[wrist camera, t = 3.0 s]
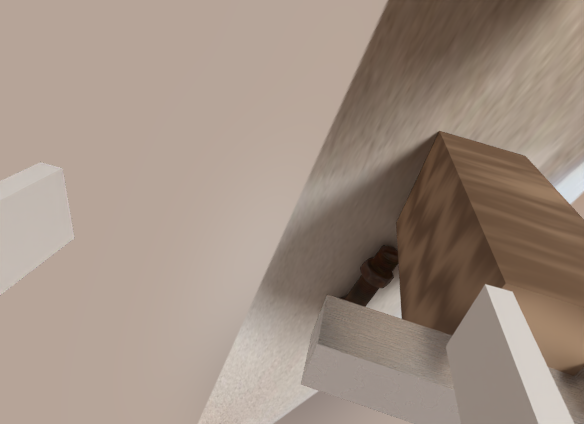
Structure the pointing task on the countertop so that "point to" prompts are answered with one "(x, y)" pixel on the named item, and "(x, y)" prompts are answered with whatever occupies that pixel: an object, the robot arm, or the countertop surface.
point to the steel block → (396, 365)
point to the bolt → (374, 276)
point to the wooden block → (492, 246)
